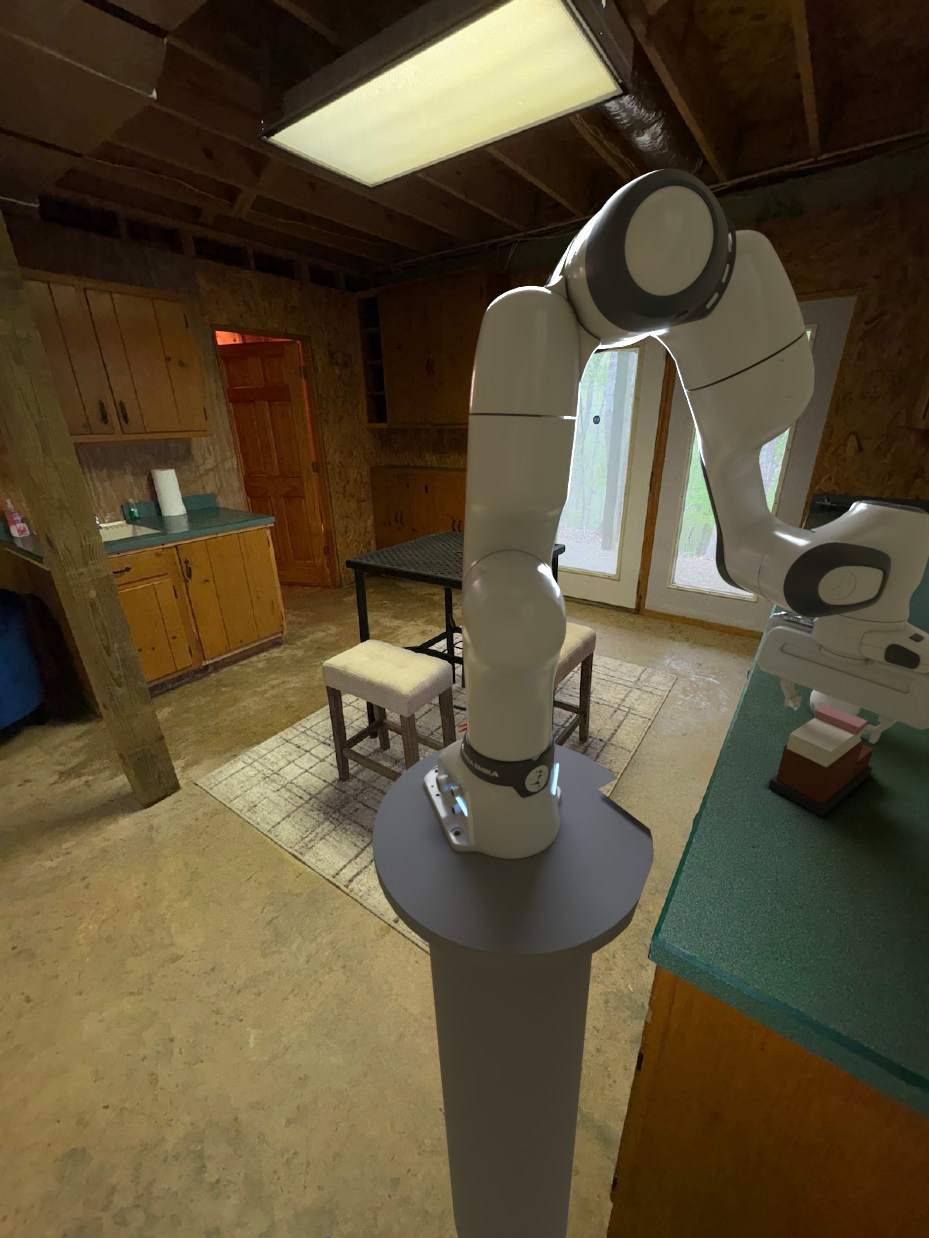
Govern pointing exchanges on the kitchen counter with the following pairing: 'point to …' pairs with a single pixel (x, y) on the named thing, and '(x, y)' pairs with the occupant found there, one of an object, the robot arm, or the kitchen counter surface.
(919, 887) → the kitchen counter surface
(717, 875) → the kitchen counter surface
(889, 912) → the kitchen counter surface
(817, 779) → the brown block on base
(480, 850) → the robot arm
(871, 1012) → the kitchen counter surface
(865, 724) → the cream rectangular block
